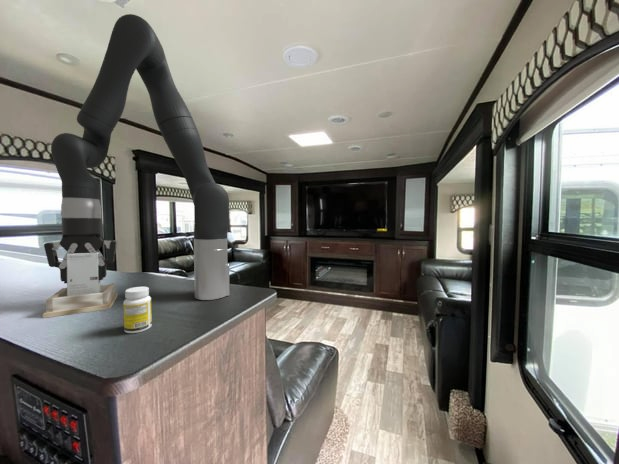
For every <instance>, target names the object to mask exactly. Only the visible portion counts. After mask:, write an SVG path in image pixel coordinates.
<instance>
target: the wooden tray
mask: <svg viewBox="0 0 619 464" xmlns="http://www.w3.org/2000/svg"><path fill="white" fill-rule="evenodd" d="M115 285H116V283H114V282H113V283H111V282H110V283H100V290H101V293H94V294H85V295H76V296H67V287H62V288H61V289H60V290H58V291H57V292H55V293H54V294H52V295H51V296H50V297H47V299H45V303H46V304H45V305H46V308H45V309H46V310H45V311H44V312H43V313H42V319H45V318H54V317H61V316H68V315H74V314H82V313H90V312H98V311H104V310H105V311H106V310H111V308H112V307H113V305H114V303H115V301H116V300H117V298H118V292H116V286H115Z"/></svg>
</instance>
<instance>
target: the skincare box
mask: <svg viewBox="0 0 619 464" xmlns="http://www.w3.org/2000/svg"><path fill="white" fill-rule="evenodd" d="M100 252H101V251H100ZM100 252H97V253H74V254H67V283H66V288H67V296H76V295H85V294H94V293H101V290H100V285H101V280H99V278H98V267H99V264H98V254H100Z"/></svg>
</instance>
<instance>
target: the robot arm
mask: <svg viewBox="0 0 619 464" xmlns="http://www.w3.org/2000/svg"><path fill="white" fill-rule="evenodd" d="M107 44H108V46H107V48H106V51H105V54H104V57H103V59H102V60H103V61H102V62H101V67H100V68H99V72H98V74H97V77H96V79H95V82H94V84H93V86H92V88H91V90H90V91H89V94H88V96H87V98H86V99H85V101H84V103H83V104H82V106H81V108H80V110H79V112H78V113H77V115H76V122H77V123H78V125H80V126H81V127H82V128H83V132H82V133H83V134H82V137H81V136H79V135H76V134H73V133H69V132H63V133H59V134H57V135H56V136H55V137H54V139H52V142H51V146H50V151H51V156H52V159H53V163H54V165H55V168H56V171H57V173H58V176H59V178H60V180H61V197H62V198H61V206H60V217H61V239H60V240H59V241H55V242H54V241H50V242H46V243H44V244H43V248H44V251H45V256H46V259H47V263H48V266H49V267H50V268H57V269H59V271H60V273H59V274H60V275H59V276H60V282H63V283H64V284H67V254H74V253H97V252H100V254H98V264H99V267H98V278H99V280H100V281H103V280H104V278H106V277H107V265H109V264H112V263H114V261H116V260H115V259H116V254H117V246H118V241H117V240H114V239H113V240H105V239H104V237H103V229H102V227H103V226H102V224H103V223H102V222H103V221H102V207H101V202H100V201H101V200H100V184H99V183H100V182H99V180H98V179H97V178H96V177H94V176H92V175H91V174H90V172H89V170H88V169H95V168H98V167H100V166H101V165H102V164H103V163H104V162H105V160H106V159H107V155H108V153H109V148H110V144H111V136H112V133H113V131H114V130H115V128H116V126H117V125H118V122H119V121H120V118H121V117H122V115H123V113H124V110H125V107H126V103H127V98H128V93H129V87H130V83H131V81H132V77H133V75H134V73H135V71H136V72H137V73H138V75H139V76H140V78H141V80H142V82H143V85H144V86H145V88H146V90H147V93H148V96H149V99H150V103H151V109H152V113H153V116H154V120H155V122H156V125H157V127H158V129H159V131H160V134H161V136H162V138H163V140H164V142H165V144H166V146H167V148H168V149H169V151H170V154H171V155H172V157H173V158H174V160H175V163H176V164H177V165H178V167H179V169H180V171H181V172H182V175H183V177H184V179H185V182H186V184H187V187H188V190H189V193H190V196H191V199H192V203H193V207H194V209H193V210H194V211H193V212H194V213H193V215H194V223H193V225H194V226H193V262H194V263H193V264H194V265H193V268H194V270H193V271H194V274H193V275H194V279H193V280H194V281H193V283H194V298H195V299H197V300H200V301H212V300H218V299H221V298H224V297H229V296H230V264H229V263H228V234H229V226H230V224H229V223H230V202H229V201H230V199H229V195H228V192H227V191H226V189H225V187H223V186H222V185H220V184H218V183H216V181H215V180H214V177H213V175H212V174H211V171H210V169H209V166H208V163H207V159H206V154H205V149H204V146H203V143H202V138H201V136H200V133H199V129H198V128H197V126H196V123H195V121H194V119H193V115H192V114H191V112H190V110H189V108H188V106H187V105H186V103H185V101H184V99H183V96H182V95H181V94H180V92H179V90H178V88H177V86H176V84H175V82H174V79H173V76H172V73H171V71H170V68H169V67H170V66H169V64H168V61H167V58H166V55H165V51H164V48H163V45H162V43H161V42H160V40H159V37H158V36H157V33H156V31H154V28H153V27H152V26H151V24H150V23H148V21H147V20H145V19H144V18H142V17H141V16H138V15H136V14H133V13H130V14H129V13H128V14H124V15H121V16H120V17H119V18H118V19H117V20H116V21H115V23H114V26H113V28H112V31H111V34H110V37H109V41H108V43H107ZM103 245H105V247H106V249H108V255H107V258H106V259H105V257H104V256H103V254H102V252H101V251H100V249H101V248H102V247H103ZM60 247H62V248H63V249H64V250H65V251H66V253H65V255H64V256H63V259H62V260H61V261H60V260H59V256H58V252H57V251H58V250H60Z"/></svg>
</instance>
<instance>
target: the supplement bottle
mask: <svg viewBox="0 0 619 464" xmlns="http://www.w3.org/2000/svg"><path fill="white" fill-rule="evenodd" d="M124 292H125V293H124V297H125V299H124V300H123V302H122V304H123V326H124V327H123V329H124V330H123V331H124V332H125V333H127V334H138V333H142V332H145V331H147V330H149V329H150V328H152V326H153V315H152V297H151V296H150V294H149V293H150V288H149V287H148V286H135V287H134V286H133V287H129V288H126V290H125V291H124Z"/></svg>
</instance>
